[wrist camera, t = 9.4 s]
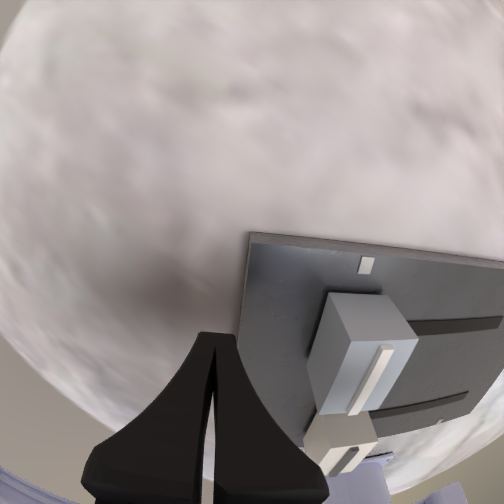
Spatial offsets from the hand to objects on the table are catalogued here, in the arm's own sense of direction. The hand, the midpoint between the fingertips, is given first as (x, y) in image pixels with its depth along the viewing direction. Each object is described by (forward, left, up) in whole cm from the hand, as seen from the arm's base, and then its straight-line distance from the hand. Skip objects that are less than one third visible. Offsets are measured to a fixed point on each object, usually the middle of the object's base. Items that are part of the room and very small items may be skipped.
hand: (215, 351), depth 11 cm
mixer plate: (-4, -13, -3) cm, 14 cm away
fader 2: (-8, -8, -2) cm, 11 cm away
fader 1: (0, -6, -2) cm, 6 cm away
